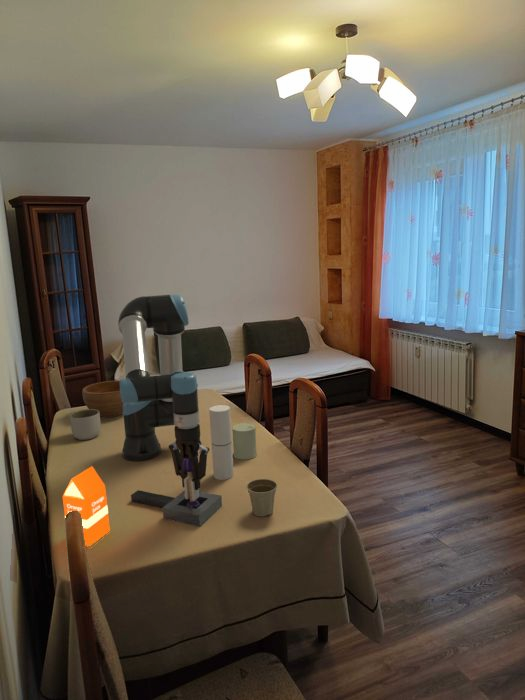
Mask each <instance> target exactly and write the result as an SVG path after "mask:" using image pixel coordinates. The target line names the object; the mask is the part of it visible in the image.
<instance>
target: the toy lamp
mask: <svg viewBox="0 0 525 700" xmlns="http://www.w3.org/2000/svg"><path fill="white" fill-rule="evenodd" d="M182 470H183V471H185V472H187V473H188V475H187V476H188V483H189V484H188V486H189V492H190V493H189V496H190V501H189V502H188V503H187V505H186V507H189V508H194V509H197V508H198V507H199V506H200V503H199V502H198V501H197V500H195V501H193V500H192V489H191V480H192V479H193V476H192V471H193V466H192V463H191V460H190V459H189V456H188V455H187V456H185V457H184V459H183V464H182Z"/></svg>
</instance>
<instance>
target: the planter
mask: <svg viewBox="0 0 525 700" xmlns="http://www.w3.org/2000/svg"><path fill="white" fill-rule="evenodd" d="M69 420H70V421H69V422H70V428H71V433H72V436H73V437H74V438H75V439H77V440H80V441H85V440H86V441H87V440H92V439H94V438H96V437H97V436H99V434H100V432H101V427H102V426H101V424H102V423H101V416H100V413H99V411H98V410H95V409H89V408H87V409H81V410H76V411H74V412H72V413H70V414H69Z"/></svg>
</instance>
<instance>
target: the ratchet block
mask: <svg viewBox="0 0 525 700" xmlns="http://www.w3.org/2000/svg"><path fill="white" fill-rule="evenodd" d="M130 499H131V503H135V504H139V505H144V506H149V507H153V508H157V509H158V508H159V509H162V516H163V517H162V519H164V518H165V520H170V521H173V520H174V522H176V523H177V522H178V523H182V524H186V525H187V524H188V525H191V526H194V527H201V526H203V524H205V522H207V521H208V520H209V519H210V518H211V517H212V516H213V515H214V514H215V513H216V512H217V511H218V510H219V509H221V507H223V501H222V500H223V499H222V495H220V494H215V493H211V492H210V493H209V492H206V491H205V492H204V491H200V490H199V497H198V498H197V499H196V500H197V501H198V502H199V503H200V506H199V507H198V508H197V509H194V508H189V507H186V505H187V503H188V502H189V501H190V498H189V499H185V489H184V490H183V491H182V492H181V493H179V494H178V495H176V496H175V497H173V496H167V495H164V494H158V493H155V492H154V493H153V492H149V491H145V490H139V489H137V490H136V491H135V492H133V493H131V495H130ZM208 518H209V519H208ZM207 519H208V520H207Z"/></svg>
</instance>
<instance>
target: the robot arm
mask: <svg viewBox="0 0 525 700" xmlns="http://www.w3.org/2000/svg"><path fill="white" fill-rule="evenodd" d="M185 302H186V301H185V299H184V297H183V296H182V295H180V294H171V293H170V294H163V295H147V296H144V295H143V296H142V295H141V296H139V297H136V298H133V299H131V301H129V302H128V303H127V304H126V305H125V306H124V307H123V309H122V310H121V312H120V314H119V318H118V325H117V327H118V330H119V333H120V334H121V337H122V338H121V339H122V345H123V346H122V348H123V349H122V350H123V359H124V361H123V362H124V371H125V373H124V376H125V378H122V379H120V380H119V381H120V394H121V401H122V402H123V413H122V415H123V424H124V426H123V427H124V435H125V438H124V441H123V446H122V452H121V453H122V458H123V459H125V460H127V461H133V462H137V461H139V462H141V461H146V460H150V459H153V458H155V457H158V456H159V455H160V454H161V452H162V446H161V443H160V442H159V439H158V437H157V435H156V429H155V428H160V427H161V428H163V427H168V426H174V437H175V441H173V442H172V443H171V444H169V445H168V449H169V451H170V453H171V456H172V463H173V467H174V471H175V472H174V473H175V475H176V476H179V477H180V478H181V484H182V488H184V490H185V499H189V498H190V496H189V493H190V492H189V486H188V484H189V483H188V476H187V475H188V473H187V472H185V471H183V470H182V464H183V459H184V457H185V456H187V455H188V456H189V459H190V460H191V463H192V466H193V471H192V476H193V479H192V480H191V489H192V500H193V501H195V500H196V499H197V498H198V497H199V491H200V489H201V480H202V479H203V478H205V477H206V474H207V462H208V461H207V460H208V459H207V458H208V453H209V452H210V448H209V447H207V446H206V447H205V446H203V445H202V441H201V425H200V410H199V399H198V398H199V397H198V386H199V385H198V380H197V376H196V374H195V373H194V372H185V371H184V370H183V355H182V353H183V352H182V351H183V349H182V334H183V333H184V332H185V327H187V326H189V317H188V311H187V306H186V303H185ZM147 329H152V330H153V333H154V334H155V335H157V343H158V344H157V345H158V358H159V360H158V361H159V373H160V375H152V376H151V373H150V365H149V356H148V349H147V340H146V331H147Z"/></svg>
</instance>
